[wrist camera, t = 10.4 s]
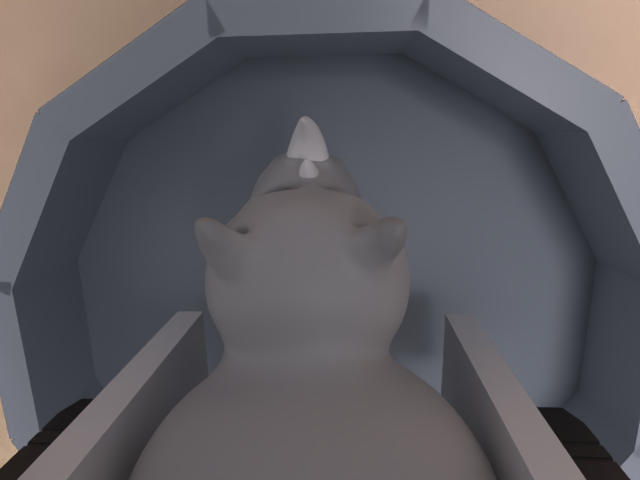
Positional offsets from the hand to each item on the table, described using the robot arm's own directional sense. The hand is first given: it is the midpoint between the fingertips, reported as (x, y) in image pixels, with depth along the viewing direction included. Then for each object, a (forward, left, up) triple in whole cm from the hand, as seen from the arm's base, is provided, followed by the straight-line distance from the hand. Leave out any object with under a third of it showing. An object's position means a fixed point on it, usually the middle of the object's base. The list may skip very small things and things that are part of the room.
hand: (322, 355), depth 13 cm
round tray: (0, 0, -3) cm, 3 cm away
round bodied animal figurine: (0, 0, 0) cm, 1 cm away
